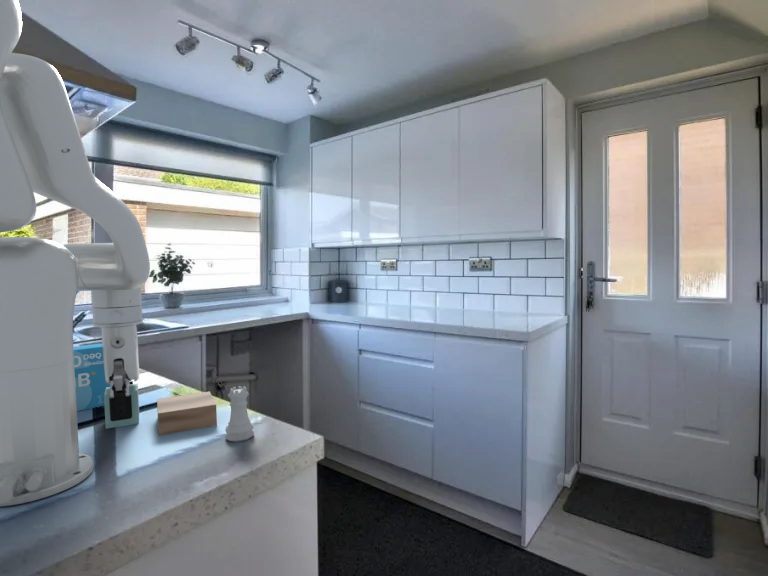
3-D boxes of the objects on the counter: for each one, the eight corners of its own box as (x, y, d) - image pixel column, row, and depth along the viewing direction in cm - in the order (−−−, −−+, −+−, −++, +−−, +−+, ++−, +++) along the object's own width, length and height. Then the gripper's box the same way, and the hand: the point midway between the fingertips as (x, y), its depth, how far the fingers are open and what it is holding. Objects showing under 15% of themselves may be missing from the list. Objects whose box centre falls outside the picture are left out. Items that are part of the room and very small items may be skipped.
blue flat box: (42, 418, 81) (38, 354, 80) (39, 412, 85) (35, 350, 84) (116, 403, 89) (113, 345, 89) (111, 398, 93) (108, 342, 92)
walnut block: (216, 427, 77) (216, 404, 77) (159, 437, 73) (158, 413, 72) (210, 411, 85) (209, 391, 85) (157, 420, 81) (156, 398, 80)
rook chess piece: (221, 436, 72) (219, 388, 71) (247, 429, 75) (246, 383, 74) (231, 445, 68) (229, 394, 68) (258, 437, 71) (257, 388, 71)
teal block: (138, 423, 78) (137, 390, 78) (105, 428, 76) (104, 394, 76) (139, 415, 83) (137, 383, 82) (107, 419, 80) (106, 387, 80)
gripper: (141, 320, 72) (146, 422, 73) (142, 310, 88) (146, 395, 89) (87, 323, 69) (92, 431, 70) (97, 312, 84) (102, 401, 85)
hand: (122, 411), depth 79 cm, fingers open, 9 cm apart
